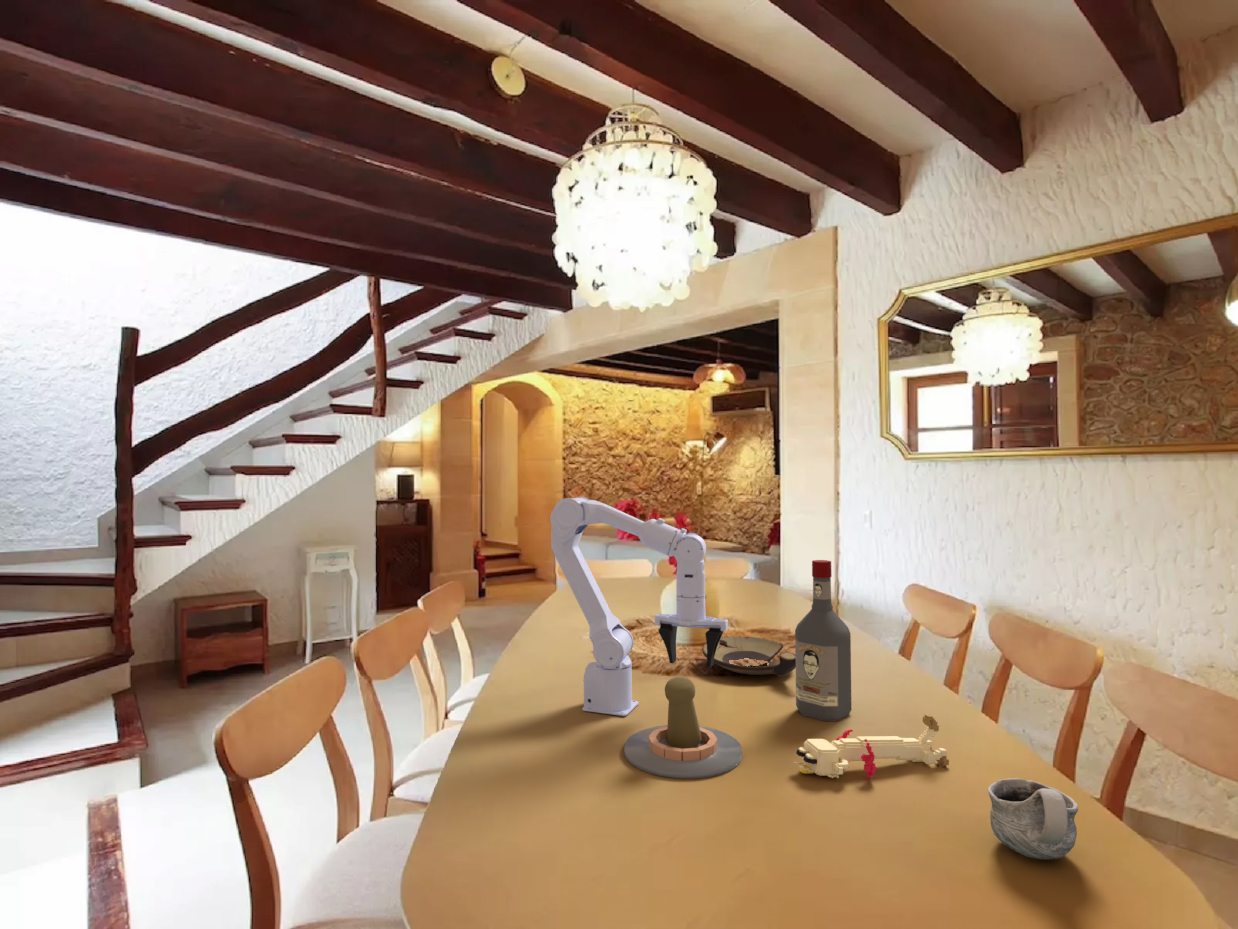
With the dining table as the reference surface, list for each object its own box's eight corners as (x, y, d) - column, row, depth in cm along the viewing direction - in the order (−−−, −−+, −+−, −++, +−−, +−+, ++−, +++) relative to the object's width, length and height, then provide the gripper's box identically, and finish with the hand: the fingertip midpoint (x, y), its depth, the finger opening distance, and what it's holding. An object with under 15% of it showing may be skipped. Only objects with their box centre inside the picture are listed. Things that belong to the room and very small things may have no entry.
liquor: (814, 701, 140) (812, 557, 140) (856, 712, 134) (854, 560, 134) (791, 712, 134) (789, 561, 134) (833, 724, 127) (831, 565, 128)
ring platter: (606, 767, 110) (606, 752, 110) (646, 724, 128) (646, 711, 128) (728, 787, 102) (728, 770, 102) (751, 738, 121) (751, 724, 121)
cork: (700, 750, 113) (695, 691, 111) (664, 748, 115) (659, 690, 112) (702, 728, 119) (698, 672, 117) (669, 726, 120) (663, 671, 118)
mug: (1049, 831, 89) (1048, 755, 89) (1116, 889, 77) (1114, 801, 77) (975, 830, 90) (974, 754, 90) (1029, 888, 77) (1028, 800, 77)
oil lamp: (774, 653, 177) (774, 624, 177) (824, 690, 147) (823, 655, 147) (691, 657, 174) (691, 628, 174) (725, 696, 144) (725, 660, 144)
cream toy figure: (916, 756, 116) (782, 758, 111) (919, 705, 116) (786, 705, 111) (957, 782, 106) (812, 785, 101) (960, 726, 107) (815, 727, 101)
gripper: (649, 596, 133) (649, 665, 132) (721, 601, 127) (722, 673, 127) (661, 590, 139) (661, 656, 139) (730, 595, 134) (730, 663, 133)
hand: (691, 664), depth 133 cm, fingers open, 7 cm apart
